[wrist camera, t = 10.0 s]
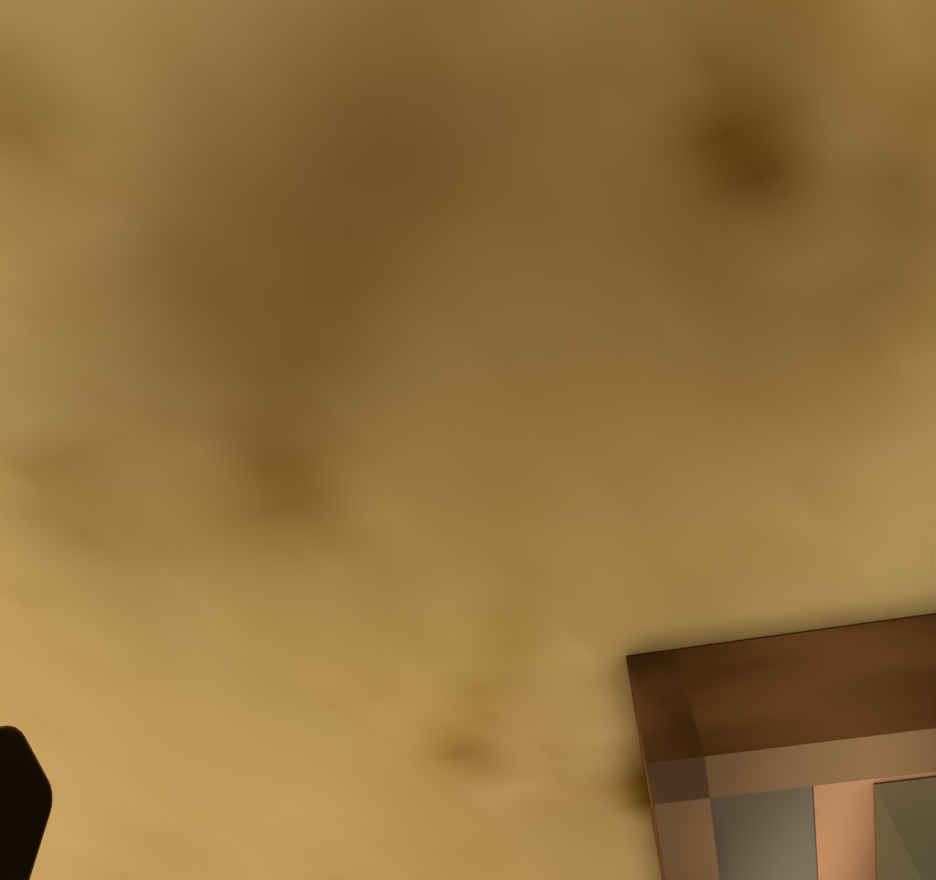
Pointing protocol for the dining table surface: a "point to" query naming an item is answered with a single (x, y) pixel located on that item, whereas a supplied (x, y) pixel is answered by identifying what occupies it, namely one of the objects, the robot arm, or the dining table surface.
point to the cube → (906, 830)
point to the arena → (783, 747)
